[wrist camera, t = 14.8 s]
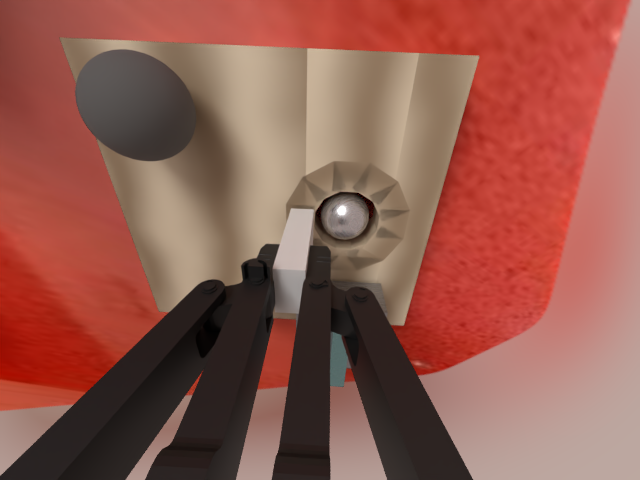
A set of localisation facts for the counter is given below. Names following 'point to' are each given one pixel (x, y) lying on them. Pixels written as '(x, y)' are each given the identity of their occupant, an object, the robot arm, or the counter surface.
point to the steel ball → (344, 215)
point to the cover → (336, 346)
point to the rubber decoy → (135, 105)
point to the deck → (291, 160)
